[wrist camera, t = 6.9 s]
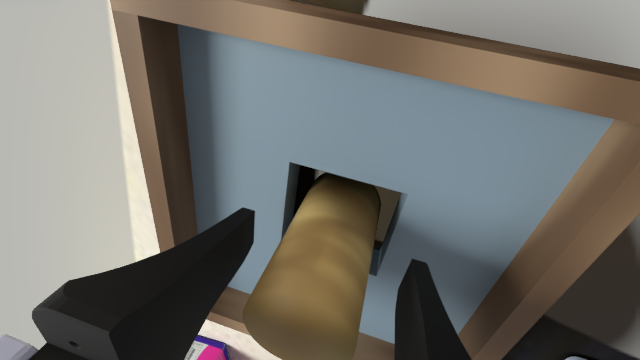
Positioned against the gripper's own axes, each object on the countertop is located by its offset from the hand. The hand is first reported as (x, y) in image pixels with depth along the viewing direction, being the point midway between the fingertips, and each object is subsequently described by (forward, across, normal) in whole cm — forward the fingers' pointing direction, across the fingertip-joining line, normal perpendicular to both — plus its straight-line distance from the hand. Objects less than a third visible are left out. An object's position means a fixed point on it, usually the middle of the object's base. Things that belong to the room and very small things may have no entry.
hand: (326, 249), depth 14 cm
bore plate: (+4, 0, 0) cm, 4 cm away
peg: (+4, 0, 0) cm, 4 cm away
